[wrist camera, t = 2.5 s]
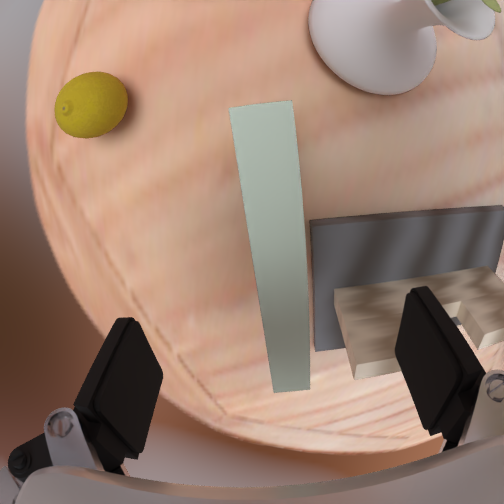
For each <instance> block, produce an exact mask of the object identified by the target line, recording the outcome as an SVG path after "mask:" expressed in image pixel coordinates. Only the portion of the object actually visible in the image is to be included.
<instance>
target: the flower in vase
mask: <svg viewBox="0 0 504 504" xmlns="http://www.w3.org/2000/svg"><path fill="white" fill-rule="evenodd" d="M494 11H496V12H499V13H501V8H500V6H499V4H498V3H497V1H496V0H313V1H312V3H311V6H310V9H309V16H308V25H309V31H310V35H311V39H312V42H313V44H314V46H315V48H316V50H317V52H318V54H319V55H320V57H321V58H322V60H323V61H324V62H325V64H326V65H327V66H328V67H329V68H330V69H331V70H332V71H333V72H334V73H335V74H336V75H338V76H339V77H340V78H341V79H343V80H344V81H346V82H347V83H349V84H351V85H352V86H354V87H356V88H359V89H361V90H363V91H366V92H370V93H374V94H380V95H395V94H400V93H404V92H407V91H409V90H412V89H413V88H415V87H417V86H418V85H419V84H420V83H421V82H422V81H423V80H424V79H425V78H426V77H427V75H428V74H429V73H430V71H431V69H432V67H433V65H434V62H435V58H436V50H437V46H436V37H435V33H434V29H433V26H435V25H443V26H446V27H447V28H449V29H450V30H451V31H453V32H454V33H456V34H458V35H460V36H462V37H465V38H468V39H471V40H482V39H485V38H487V37H488V36H489V35H490V34H491V33H492V31H493V29H494V26H495V12H494Z"/></svg>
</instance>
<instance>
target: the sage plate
mask: <svg viewBox="0 0 504 504" xmlns="http://www.w3.org/2000/svg"><path fill="white" fill-rule="evenodd" d="M229 114H230V120H231V127H232V133H233V139H234V146H235V152H236V158H237V164H238V171H239V177H240V183H241V190H242V196H243V202H244V209H245V215H246V221H247V228H248V234H249V240H250V246H251V253H252V259H253V265H254V272H255V278H256V284H257V291H258V297H259V303H260V309H261V316H262V322H263V328H264V335H265V341H266V347H267V353H268V360H269V366H270V372H271V379H272V385H273V391H274V393H277V392H290V391H300V390H310V330H309V298H308V275H307V256H306V240H305V225H304V212H303V199H302V187H301V176H300V166H299V156H298V146H297V137H296V128H295V120H294V112H293V104H292V100H291V101H280V102H270V103H262V104H254V105H246V106H239V107H232V108H229Z"/></svg>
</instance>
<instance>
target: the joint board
mask: <svg viewBox="0 0 504 504" xmlns="http://www.w3.org/2000/svg"><path fill="white" fill-rule="evenodd" d="M310 234H311V252H312V275H313V308H314V346H315V352H317V351H325V350H333V349H340V348H346V350H347V354H348V358H349V362H350V366H351V370H352V374H353V378H354V380H358V379H364V378H369V377H375V376H380V375H385V374H390V373H395V372H399V371H401V368H400V366H399V363H398V361H397V359H396V356H395V345H396V341H397V336H398V332H399V328H400V323H401V318H402V313H403V308H404V303H405V298H406V294H407V293H410V290H411V289H412V288H416V287H421V286H428V287H429V288H430V290H431V291H432V292H433V294H434V295H435V297H436V298H437V299H438V301H439V302H440V304H441V305H442V306H443V308H444V309H445V311H446V312H447V313H448V315H449V316H450V318H451V319H452V321H453V322H454V323H455V325H456V326H457V325H461V324H462V326H463V327H464V329H465V330H466V332H467V333H468V335H469V337H470V338H471V340H472V341H473V343H474V345H475V346H476V348H477V350H479V349H482V348H485V347H488V346H491V345H493V344H496V343H499V342H502V341H504V283H503V281H502V280H501V279H500V278H499V277H498V276H497V275H496V274H495V272H496V268H497V264H498V261H499V257H500V253H501V249H502V245H503V240H504V206H502V205H500V206H481V207H464V208H449V209H434V210H421V211H408V212H395V213H383V214H371V215H360V216H349V217H338V218H327V219H317V220H310Z"/></svg>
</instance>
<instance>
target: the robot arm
mask: <svg viewBox="0 0 504 504" xmlns="http://www.w3.org/2000/svg"><path fill="white" fill-rule="evenodd" d="M395 356H396V359H397V361H398V363H399V366H400V368H401V371H402V373H403V376H404V378H405V381H406V383H407V386H408V388H409V391H410V393H411V396H412V399H413V401H414V404H415V406H416V409H417V412H418V415H419V417H420V420H421V423H422V426H423V428H424V429H425V430H427V429H428V431H429V434H430V436H432V435H435V434H438V433H440V432H442V435H443V438H444V441H443V444H442V446H441V448H440V451H439V453H438V454H436V455H433V456H430V457H427V458H424V459H421V460H418V461H414V462H411V463H407V464H404V465H400V466H397V467H393V468H389V469H386V470H381V471H377V472H373V473H369V474H364V475H359V476H354V477H349V478H344V479H338V480H331V481H325V482H318V483H309V484H300V485H289V486H274V487H211V486H194V485H184V484H174V483H167V482H159V481H153V480H147V479H140V478H134V477H130V475H129V473H128V471H127V469H126V468H125V466H124V464H123V461H124V458H125V457H126V458H131V459H138V456H139V453H142V452H143V450H144V446H145V442H146V438H147V435H148V431H149V427H150V423H151V419H152V416H153V412H154V408H155V405H156V401H157V397H158V394H159V391H160V387H161V384H162V380H163V371H162V369H161V367H160V365H159V363H158V361H157V359H156V357H155V355H154V353H153V351H152V349H151V347H150V345H149V343H148V340H147V338H146V336H145V334H144V332H143V330H142V328H141V325H140V323H139V322H138V321H135V319H134V318H132V317H128V318H117V319H116V321H115V323H114V324H113V326H112V328H111V330H110V332H109V334H108V336H107V337H106V339H105V341H104V343H103V345H102V347H101V349H100V351H99V353H98V355H97V357H96V359H95V361H94V363H93V365H92V367H91V369H90V371H89V373H88V375H87V377H86V379H85V381H84V383H83V385H82V387H81V390H80V392H79V394H78V396H77V398H76V400H75V402H74V406H75V408H74V410H71V409H69V408H60V409H57V410H55V411H53V412H52V413H51V414H50V415H49V416H48V417H47V420H46V422H45V425H44V433H43V434H41V435H39V436H37V437H36V438H34V439H32V440H30V441H28V442H26V443H25V444H22V445H20V446H19V447H17V448H16V449H14V450H13V451H12V452H11V454H10V456H9V459H8V468H7V467H6V466H4V467H3V468H2V469H1V470H0V504H504V371H503V370H492V371H490V372H488V373H486V372H485V371H484V369H483V367H482V366H481V364H480V362H479V361H478V359H477V357H476V356H475V354H474V352H473V351H472V349H471V348H470V346H469V344H468V343H467V341H466V340H465V338H464V337H463V335H462V334H461V332H460V331H459V329H458V328H457V326H456V325H455V323H454V322H453V321H452V319H451V318H450V316H449V315H448V313H447V312H446V311H445V309H444V308H443V306H442V305H441V304H440V302H439V301H438V299H437V298H436V297H435V295H434V294H433V292H432V291H431V290H430V288H429V287H428V286H421V287H416V288H412V289H411V290H410V293H407V294H406V298H405V303H404V308H403V313H402V318H401V323H400V328H399V332H398V336H397V341H396V345H395Z"/></svg>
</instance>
